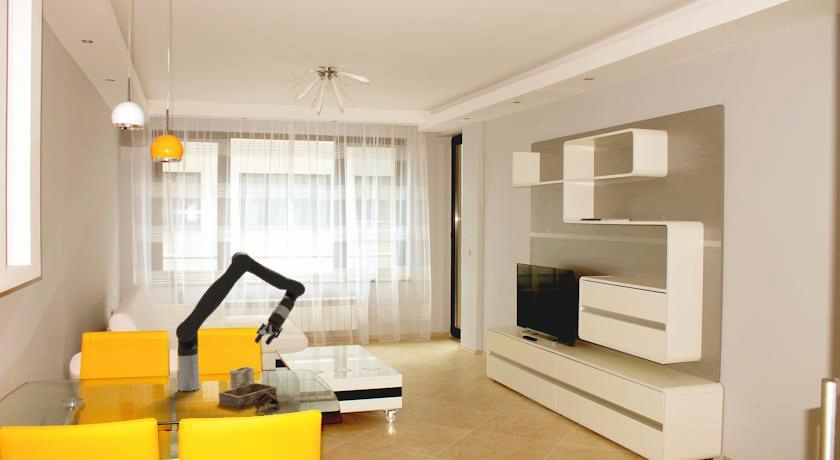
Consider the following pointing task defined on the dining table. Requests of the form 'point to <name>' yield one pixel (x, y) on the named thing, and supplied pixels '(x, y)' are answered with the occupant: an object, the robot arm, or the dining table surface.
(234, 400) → the walnut crate
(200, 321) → the robot arm
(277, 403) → the pottery mug
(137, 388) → the dining table surface
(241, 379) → the birch crate
